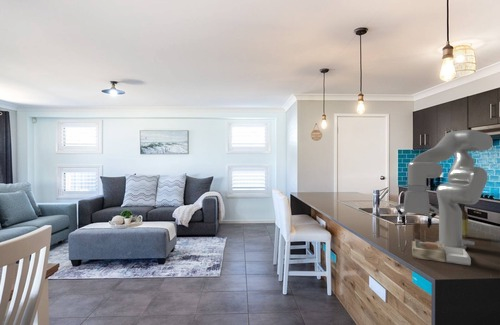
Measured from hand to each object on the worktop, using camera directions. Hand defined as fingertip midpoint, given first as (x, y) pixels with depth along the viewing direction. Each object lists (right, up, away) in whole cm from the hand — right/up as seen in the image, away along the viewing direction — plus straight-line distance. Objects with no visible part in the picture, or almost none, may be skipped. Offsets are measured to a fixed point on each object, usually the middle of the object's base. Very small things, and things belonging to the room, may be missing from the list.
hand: (416, 225), depth 129 cm
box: (+13, -13, -7) cm, 20 cm away
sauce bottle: (+43, -13, +29) cm, 54 cm away
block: (+5, -9, -2) cm, 11 cm away
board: (+4, -13, -2) cm, 14 cm away
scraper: (+1, -9, 0) cm, 9 cm away
